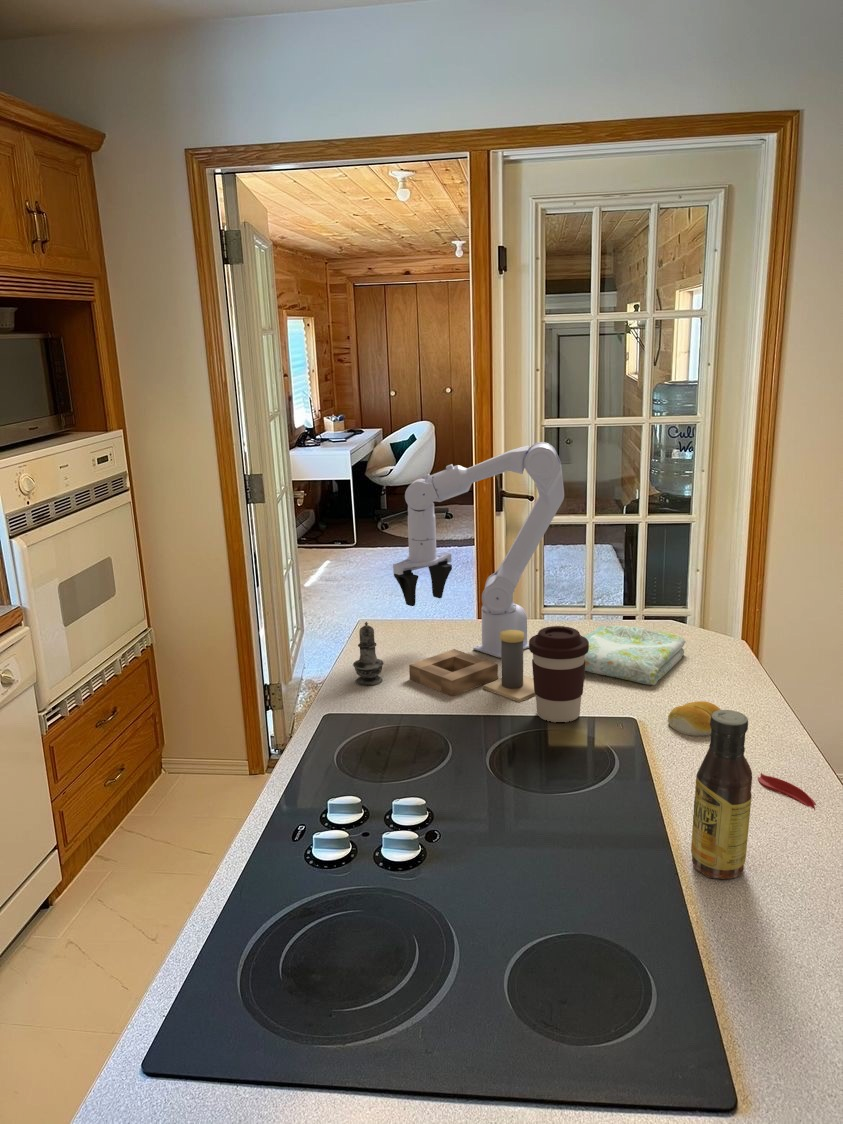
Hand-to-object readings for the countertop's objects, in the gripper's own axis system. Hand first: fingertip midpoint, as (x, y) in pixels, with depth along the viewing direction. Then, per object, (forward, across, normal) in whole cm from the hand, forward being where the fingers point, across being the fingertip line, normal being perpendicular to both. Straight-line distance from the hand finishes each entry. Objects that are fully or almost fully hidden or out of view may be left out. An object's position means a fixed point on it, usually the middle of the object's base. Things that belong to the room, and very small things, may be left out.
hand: (424, 601), depth 179 cm
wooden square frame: (+10, +8, +17) cm, 21 cm away
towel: (+11, -22, +35) cm, 43 cm away
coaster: (+10, +3, +29) cm, 31 cm away
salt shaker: (+11, +20, +6) cm, 23 cm away
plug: (+10, +4, +28) cm, 30 cm away
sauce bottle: (+11, +28, +84) cm, 89 cm away
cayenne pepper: (+11, +5, +81) cm, 82 cm away
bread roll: (+11, -5, +61) cm, 62 cm away
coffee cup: (+11, +7, +42) cm, 44 cm away
